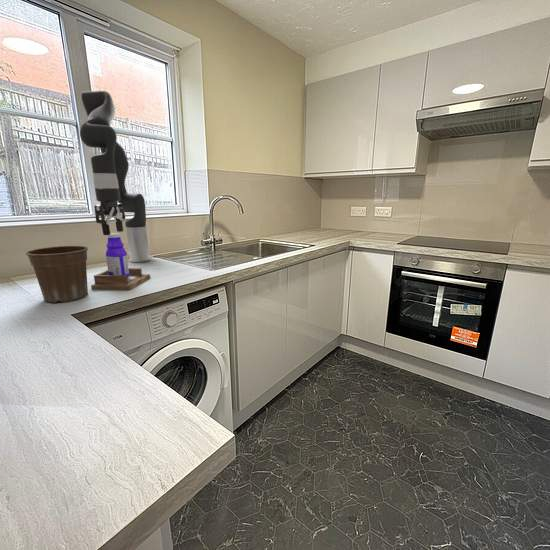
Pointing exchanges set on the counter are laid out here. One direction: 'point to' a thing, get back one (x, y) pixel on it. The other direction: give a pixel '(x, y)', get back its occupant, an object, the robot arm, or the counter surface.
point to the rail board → (119, 280)
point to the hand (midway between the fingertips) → (113, 233)
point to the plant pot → (60, 272)
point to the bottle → (116, 256)
